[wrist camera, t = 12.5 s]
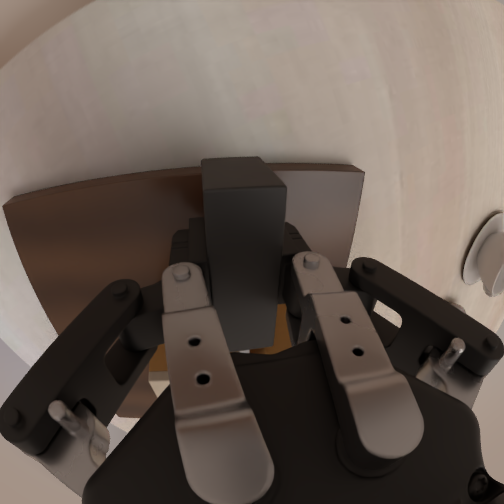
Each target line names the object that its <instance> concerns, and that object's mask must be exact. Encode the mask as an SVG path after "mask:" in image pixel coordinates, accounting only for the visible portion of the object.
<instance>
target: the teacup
mask: <svg viewBox="0 0 504 504" xmlns="http://www.w3.org/2000/svg"><path fill="white" fill-rule="evenodd" d="M463 279H464V282H465V283H466V284H468V285H472V284H475V283H477V282H478V281H480V280H482V282H483V288H484V291H485V293H486V294H487V295H488V296H489V297H492V296H494V297H495V296H498V295H500V294H501V293H502V292H503V291H504V213H499V214H496V215H495V216H493V217H492V218H491V219H490V220H489V221H488V222H487V223H486V225H485V226H484V227H483V228H482V230H481V231H480V233H479V234H478V236H477V238H476V239H475V241H474V243H473V245H472V247H471V249H470V252H469V254H468V257H467V259H466V262H465V266H464V271H463Z"/></svg>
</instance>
